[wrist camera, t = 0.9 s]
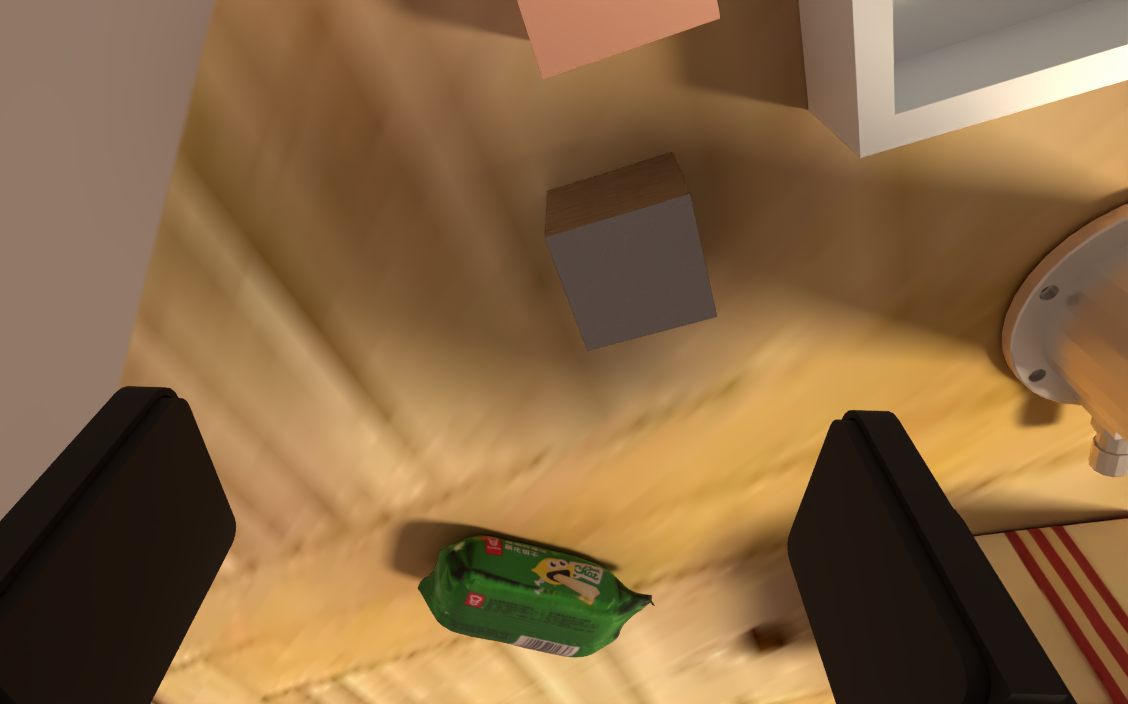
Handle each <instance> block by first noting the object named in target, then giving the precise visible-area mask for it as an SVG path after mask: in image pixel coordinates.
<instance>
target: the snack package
mask: <svg viewBox="0 0 1128 704" xmlns="http://www.w3.org/2000/svg"><path fill="white" fill-rule="evenodd" d="M418 590H419V591H420V592H421V594H422V595H423V597H424V599H425V601H426V603H427V605H428V607H429V608H430V610H431V612H432V613H433V615H434V617H435V618H436V620H437V621H438V622H439V623H440V624H441V625H442V626H444V627H445V628H447V629H449V630H450V631H453V632H456V633H460V634H464V635H468V636H471V637H477V638H482V639H487V640H493V641H499V642H503V643H507V644H511V645H515V646H519V647H523V648H527V649H532V650H537V651H541V652H545V653H551V654H555V655H560V656H565V657H584V656H588V655H591V654H593V653H595V652H596V651H598V650H600V649H601V648H603V647H605V646H606V645H608V644H610V643H611V642H613V641H614V640H615V639H617V637H618V636H619V633H620V630H621V628H622V626H623V625H624V624H625V623H626V622H627V621H628V620H629V619H630V618H631V617H632V616H633V615H634V614H636V613H637V612H639V611H641V610H642V609H643V608H644V607H645V606H646V605H647V604H649V603H651V604H652V605H654V604H653V602H652V595H646V594H640V593H636V592H633V591H631V590H629V589H628V588H627V587H625V586H624V585H623V584H622V583H621V582H620V581H619V580H618V579H617V578H616V577H615V576H614V575H613V574H612V573H611V572H610V571H609V570H607V569H605V568H603V567H601V566H600V565H598V564H595V563H592V562H589V561H587V560H584V559H581V558H578V557H575V556H572V555H569V554H565V553H561V552H556V551H552V550H548V549H544V548H540V547H537V546H533V545H529V544H523V543H518V542H513V541H508V540H504V539H500V538H497V537H491V536H484V535H478V536H472V537H469V538H466V539H464V540H462V541H460V542H458V543H455V544H452V545H450V546H448V547H445V548H444V549H442V550H441V551H440V553H439V557H438V561H437V564H436V566H435V568H434V571H433V572H432V573H431V574H430V576H428V577H425V578H424V579H423V580H422V581H421V582H420V584H419V586H418ZM654 606H655V605H654Z"/></svg>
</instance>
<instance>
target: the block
mask: <svg viewBox="0 0 1128 704" xmlns="http://www.w3.org/2000/svg"><path fill="white" fill-rule="evenodd" d="M545 239H546V242H547V245H548V247H549V250H550V253H551V255H552V258H553V261H554V263H555V266H556V269H557V271H558V274H559V277H560V279H561V282H562V285H563V287H564V290H565V293H566V295H567V298H568V301H569V303H570V306H571V308H572V311H573V314H574V316H575V319H576V322H577V324H578V327H579V330H580V332H581V335H582V338H583V340H584V343H585V346H586V348H587V351H589V350H592V349H596V348H600V347H604V346H608V345H611V344H615V343H619V342H623V341H627V340H630V339H634V338H638V337H642V336H646V335H649V334H653V333H657V332H661V331H665V330H668V329H672V328H676V327H680V326H684V325H687V324H691V323H695V322H699V321H703V320H706V319H710V318H714V317H717V314H716V309H715V305H714V300H713V296H712V291H711V287H710V282H709V278H708V273H707V269H706V264H705V259H704V255H703V250H702V246H701V241H700V237H699V232H698V228H697V223H696V219H695V214H694V210H693V205H692V201H691V196H690V193H689V190H688V188H687V185H686V183H685V181H684V178H683V176H682V173H681V171H680V168H679V166H678V164H677V161H676V159H675V156H674V154H673V152H671V153H668V154H665V155H661V156H658V157H655V158H652V159H649V160H645V161H642V162H639V163H636V164H633V165H629V166H626V167H623V168H620V169H617V170H613V171H610V172H607V173H604V174H601V175H598V176H594V177H591V178H588V179H585V180H582V181H578V182H575V183H572V184H569V185H566V186H562V187H559V188H556V189H553V190H550V191H547V204H546V224H545Z"/></svg>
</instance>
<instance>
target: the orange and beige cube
mask: <svg viewBox="0 0 1128 704" xmlns="http://www.w3.org/2000/svg"><path fill="white" fill-rule="evenodd" d="M517 2H518V5H519V8H520V11H521V15H522V18H523V21H524V24H525V27H526V30H527V33H528V36H529V39H530V42H531V45H532V48H533V52H534V55H535V58H536V61H537V64H538V67H539V70H540V73H541V76H542V79H546V78H549V77H551V76H554V75H557V74H560V73H563V72H566V71H569V70H572V69H575V68H578V67H580V66H583V65H586V64H589V63H592V62H595V61H598V60H601V59H604V58H607V57H610V56H612V55H615V54H618V53H621V52H624V51H627V50H630V49H633V48H636V47H639V46H641V45H644V44H647V43H650V42H653V41H656V40H659V39H662V38H665V37H668V36H671V35H673V34H676V33H679V32H682V31H685V30H688V29H691V28H694V27H697V26H700V25H702V24H705V23H708V22H711V21H714V20H717V19H720V14H719V8H718V2H717V0H517Z"/></svg>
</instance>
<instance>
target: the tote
mask: <svg viewBox="0 0 1128 704" xmlns="http://www.w3.org/2000/svg"><path fill="white" fill-rule="evenodd" d="M798 2H799V13H800V23H801V34H802V44H803V55H804V65H805V76H806V86H807V97H808V107H809V111H810V112H811V113H812V114H813V115H814V116H816V117H817V118H818V119H819V120H820V121H821V122H822V123H823V124H824V125H825V126H826V127H827V128H829V129H830V130H831V131H832V132H833V133H834V134H835V135H836V136H837V137H838V138H839V139H840V140H842V141H843V142H844V143H845V144H846V145H847V146H848V147H849V148H850V149H851V150H852V151H853V152H855V153H856V154H857V155H858V156H859V157H860V158H862V157H866V156H869V155H872V154H876V153H879V152H883V151H886V150H889V149H893V148H896V147H900V146H903V145H907V144H910V143H913V142H917V141H920V140H924V139H927V138H930V137H934V136H937V135H941V134H944V133H947V132H951V131H954V130H958V129H961V128H964V127H968V126H971V125H975V124H978V123H981V122H985V121H988V120H992V119H995V118H999V117H1002V116H1005V115H1009V114H1012V113H1016V112H1019V111H1022V110H1026V109H1029V108H1033V107H1036V106H1039V105H1043V104H1046V103H1050V102H1053V101H1056V100H1060V99H1063V98H1067V97H1070V96H1074V95H1077V94H1080V93H1084V92H1087V91H1091V90H1094V89H1097V88H1101V87H1104V86H1108V85H1111V84H1114V83H1118V82H1121V81H1125V80H1128V0H798Z"/></svg>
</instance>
